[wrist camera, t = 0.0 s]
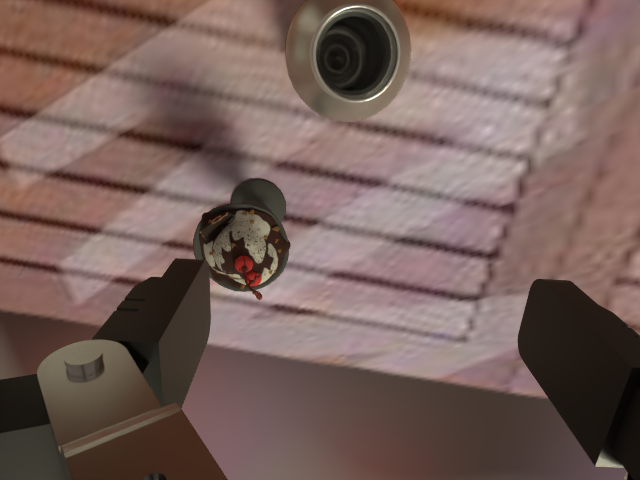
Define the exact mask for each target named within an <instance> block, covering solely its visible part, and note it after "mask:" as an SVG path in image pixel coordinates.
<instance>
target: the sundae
mask: <svg viewBox="0 0 640 480" xmlns="http://www.w3.org/2000/svg"><path fill="white" fill-rule="evenodd" d="M285 212H286V201H285V199H284V196H283V194H282V192H281V191H280V190H279V189H278V188H277V187H276V186H275V185H274V184H272V183H270V182H268V181H265V180H259V179H255V180H249V181H246V182H244V183H242V184H241V185H240V186H239V187H238V188H237V189H236V190H235V191H234V194H233V196H232V199H231V204H227V205H223V206H219V207H216V208H214V209H212V210H211V211H209V212H208V213H204V214H203V215H202V219H201V221H200V222H199V224H198V226H197V229H196V232H195V235H194V239H193V249H194V255H195V258H196V259H197V260H207V261H208V264H209V277H210V278H211V279H213V280H214V281H215V282H217V283H218V284H219V285H221V286H223V287H225V288H228V289H231V290H233V291H242V292H245V291H252V292H253V294H255V295H256V297H257V299H258V300H260V299H261V298H262V295H261V294H260V292H258V291H255V290H257V289H260V288H262V287H265V286H267V285H269V284H270V283H271V282H273V281H274V280H275V279H276V278H277V277H279V275H280V274H281V273H282V272H283V270H284V268H285V266H286V264H287V261H288V255H289V249H290V242H289V241H288V239H287V236H286V233H285V230H284V228H283V225H282V224H281V221H282V220H283V218H284V215H285Z"/></svg>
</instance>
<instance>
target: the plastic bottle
mask: <svg viewBox="0 0 640 480" xmlns="http://www.w3.org/2000/svg"><path fill="white" fill-rule="evenodd" d="M285 53H286V65H287V70H288V74H289V77H290V80H291V82H292V84H293V87H294V89H295V90H296V92H297V93H298V95H299V96H300V98H301V99H302V100H303V101H304V102H305V103H306V104H307V105H308V107H309V108H311V109H312V110H314V111H315V112H317V113H318V114H319V115H321V116H324V117H326V118H329V119H331V120H336V121H341V122H354V121H359V120H363V119H367V118H369V117H371V116H373V115H375V114H377V113H379V112H380V111H381V110H383V109H384V108H385V107H387V106H388V105H389V104H390V103H391V101H392V100H393V99H394V98H395V97H396V96H397V94H398V92H399V91H400V89H401V88H402V86H403V84H404V81H405V79H406V76H407V74H408V70H409V65H410V60H411V42H410V35H409V31H408V27H407V24H406V21H405V19H404V17H403V15H402V13H401V11H400V10H399V8H398V7H397V5H396V4H395V3H394V2H393V1H392V0H305V1H304V2H303V4H302V5H301V6H300V7H299V9H298V10H297V12H296V14H295V16H294V18H293V19H292V21H291V24H290V27H289V31H288V34H287V40H286V47H285Z"/></svg>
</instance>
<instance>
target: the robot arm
mask: <svg viewBox="0 0 640 480" xmlns="http://www.w3.org/2000/svg"><path fill="white" fill-rule="evenodd" d="M210 321H211V313H210V278H209V264H208V261H207V260H197V259H178V258H176V259H175V260H174V261H173V262H172V264H171V265H170V266H169V268H168V269H167V270H166V272H165V273H164V275H163V276H162V277H150V278H148V279H147V280H145V281H143V282H141V283H140V284H138V285H136V286H134V288H133V289H132V290H131V291H130V293H129V294H128V295H127V296H126V297H125V301H122V302H121V304H120V305H119V306H118V307H117V311H114V312H113V314H112V315H111V316H110V317H109V319H108V320H107V321H106V322H105V323H104V325H103V326H102V327H101V328H100V330H99V331H98V332H97V334H96V335H95V336H94V337H93V338H92V340H87V341H81V342H77V343H74V344H71V345H68V346H65V347H63V348H61V349H59V350H57V351H55V352H54V353H52V354H51V355H49V356H48V357H47V358H46V359H45V360H44V361H43V362H42V363H41V364H40V366H39V368H38V371H37V374H33V375H28V376H22V377H15V378H9V379H2V380H0V480H228V479H227V478H226V476H225V475H224V473H223V472H222V470H221V469H220V467H219V466H218V464H217V463H216V461H215V460H214V458H213V456H212V455H211V453H210V452H209V450H208V449H207V447H206V446H205V444H204V443H203V441H202V440H201V438H200V437H199V435H198V434H197V432H196V430H195V429H194V427H193V426H192V424H191V423H190V422H189V420H188V418H187V417H186V415H185V414H184V412H183V411H182V409H181V408H182V405H183V403H184V400H185V398H186V395H187V393H188V390H189V387H190V385H191V382H192V380H193V377H194V374H195V372H196V370H197V367H198V364H199V362H200V359H201V357H202V354H203V352H204V349H205V347H206V344H207V341H208V337H209V331H210ZM518 349H519V353H520V356H521V358H522V360H523V361H524V363H525V364H526V366H527V367H528V369H529V370H530V372H531V373H532V375H533V376H534V377H535V379H536V380H537V382H538V383H539V385H540V386H541V388H542V389H543V391H544V392H545V394H546V395H547V396H548V398H549V399H550V401H551V402H552V404H553V405H554V407H555V408H556V410H557V411H558V412H559V414H560V415H561V417H562V418H563V420H564V421H565V423H566V424H567V426H568V427H569V429H570V430H571V432H572V433H573V434H574V436H575V437H576V439H577V440H578V442H579V443H580V445H581V446H582V448H583V449H584V451H585V452H586V453H587V455H588V456H589V458H590V459H591V461H592V462H593V464H594V465H595V466H600V467H623V468H625V469H626V470H627V473H626V475H625V478H624V480H640V335H638V334H637V333H636V332H635V331H634V330H633V329H631V328H628V325H627V324H626V323H624V322H623V321H622V320H621V319H620V318H619V317H617V316H616V315H615V314H614V313H613V312H611V311H609V310H607V309H605V308H603V307H602V306H600V305H598V304H597V303H596V302H594V301H593V300H592V299H591V298H590V297H589V296H587V295H586V294H585V293H584V292H583V291H582V290H581V289H579V288H578V287H577V286H576V285H575V284H574V283H573V282H571V281H567V280H549V279H537V280H535V281H534V282H533V284H532V285H531V288H530V291H529V295H528V299H527V303H526V307H525V310H524V314H523V318H522V322H521V326H520V330H519V334H518Z"/></svg>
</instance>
